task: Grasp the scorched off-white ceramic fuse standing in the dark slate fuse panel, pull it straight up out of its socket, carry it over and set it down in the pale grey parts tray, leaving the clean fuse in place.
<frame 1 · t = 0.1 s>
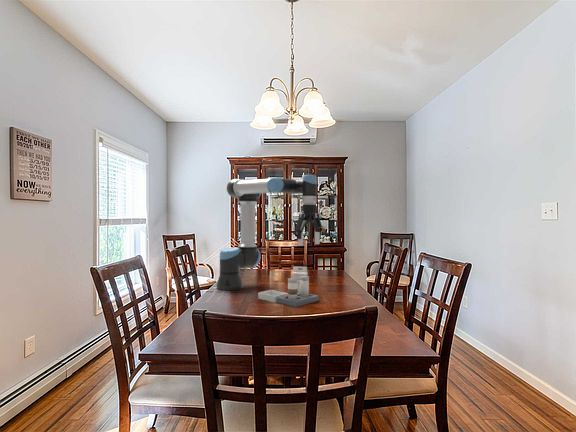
hand: (309, 244, 190), 28 cm above the table, fingers open, 13 cm apart
blown fuse: (292, 303, 178), resting in fuse panel
parts tray: (273, 299, 187), on the table
grey stepped block: (299, 293, 201), on the table
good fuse: (304, 300, 185), resting in fuse panel
fuse panel: (298, 301, 182), on the table
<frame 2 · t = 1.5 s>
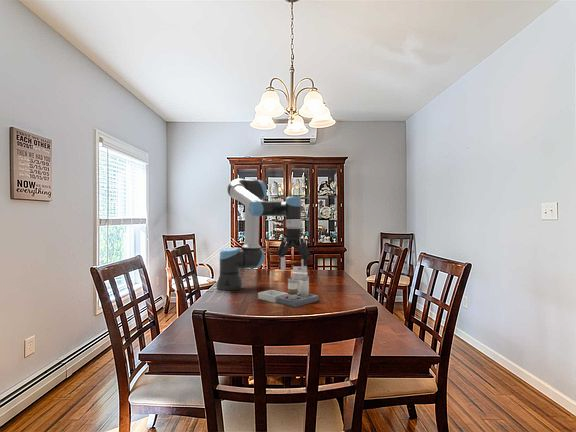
hand: (293, 271, 178), 16 cm above the table, fingers open, 13 cm apart
nothing on the table moved.
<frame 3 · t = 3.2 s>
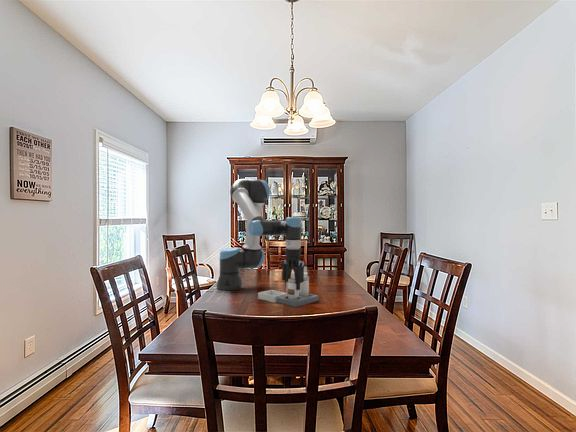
hand: (292, 295, 178), 4 cm above the table, fingers closed on blown fuse, 5 cm apart
blown fuse: (292, 303, 178), resting in fuse panel, touching gripper
everything else where it was.
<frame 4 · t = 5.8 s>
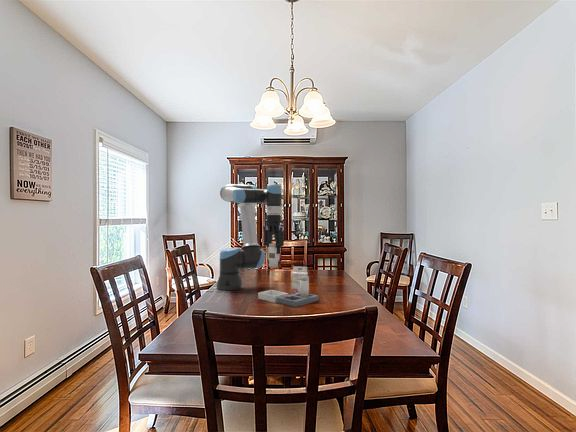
hand: (273, 259, 187), 20 cm above the table, fingers closed on blown fuse, 5 cm apart
blown fuse: (273, 266, 187), point 17 cm above the table, touching gripper
everything else where it was.
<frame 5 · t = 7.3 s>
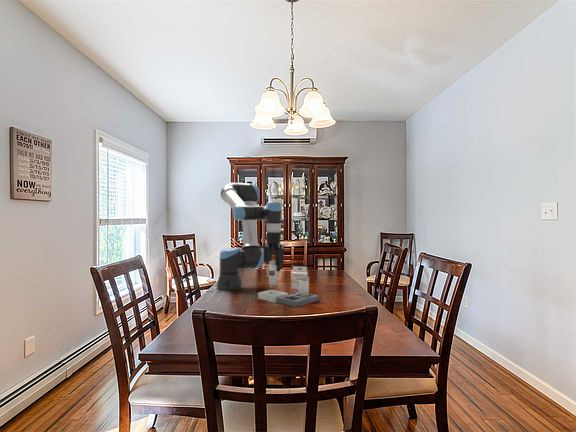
hand: (273, 276, 187), 11 cm above the table, fingers closed on blown fuse, 5 cm apart
blown fuse: (273, 284, 187), point 8 cm above the table, touching gripper
everything else where it was.
when the fingers open (6 cm above the table, at t = 8.7 s): blown fuse drops 1 cm, resting on parts tray.
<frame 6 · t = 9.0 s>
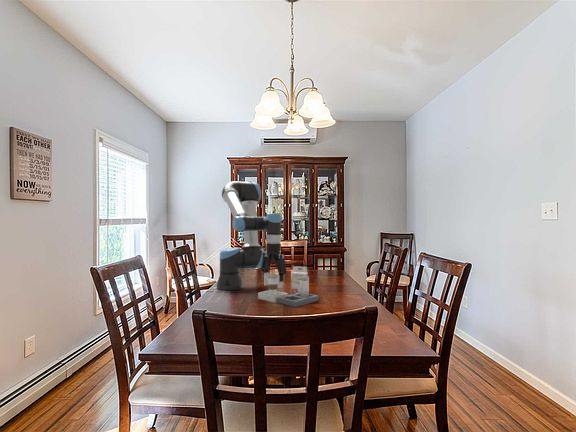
hand: (273, 286, 187), 7 cm above the table, fingers open, 9 cm apart
blown fuse: (273, 297, 187), point 1 cm above the table, touching parts tray
everything else where it was.
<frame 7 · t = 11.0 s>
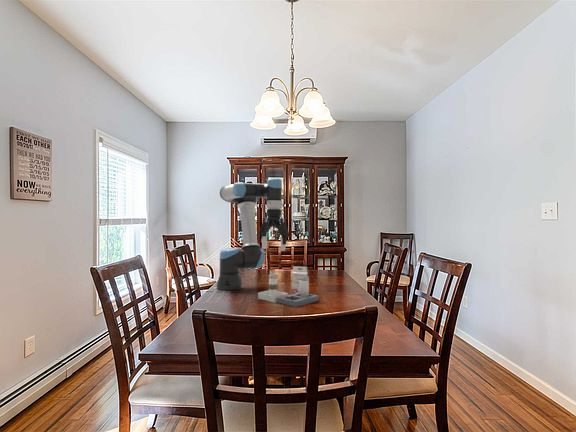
hand: (273, 249, 188), 25 cm above the table, fingers open, 13 cm apart
nothing on the table moved.
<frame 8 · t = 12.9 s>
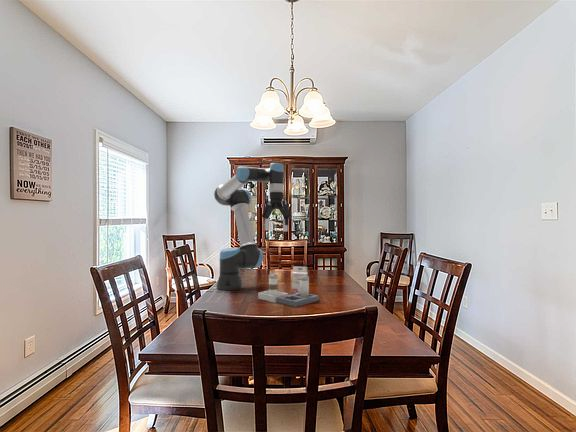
hand: (276, 230, 197), 35 cm above the table, fingers open, 13 cm apart
nothing on the table moved.
at the end: blown fuse inside the target area on the parts tray (0.1 cm from its centre), point 0.6 cm above the parts tray's base; the gripper is holding nothing; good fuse moved 0.0 cm from its start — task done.
